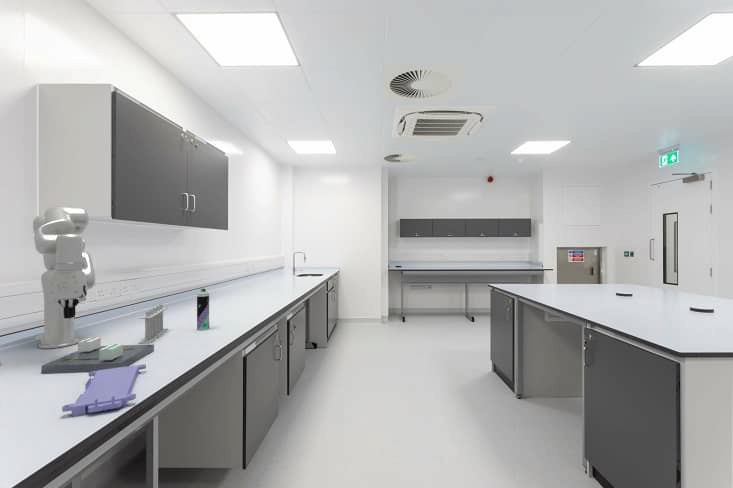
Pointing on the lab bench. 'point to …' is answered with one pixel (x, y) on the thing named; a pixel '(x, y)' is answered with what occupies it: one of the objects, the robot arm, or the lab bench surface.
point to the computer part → (106, 390)
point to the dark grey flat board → (96, 360)
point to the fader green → (111, 352)
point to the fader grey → (89, 344)
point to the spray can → (203, 310)
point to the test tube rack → (153, 324)
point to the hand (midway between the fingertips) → (69, 317)
